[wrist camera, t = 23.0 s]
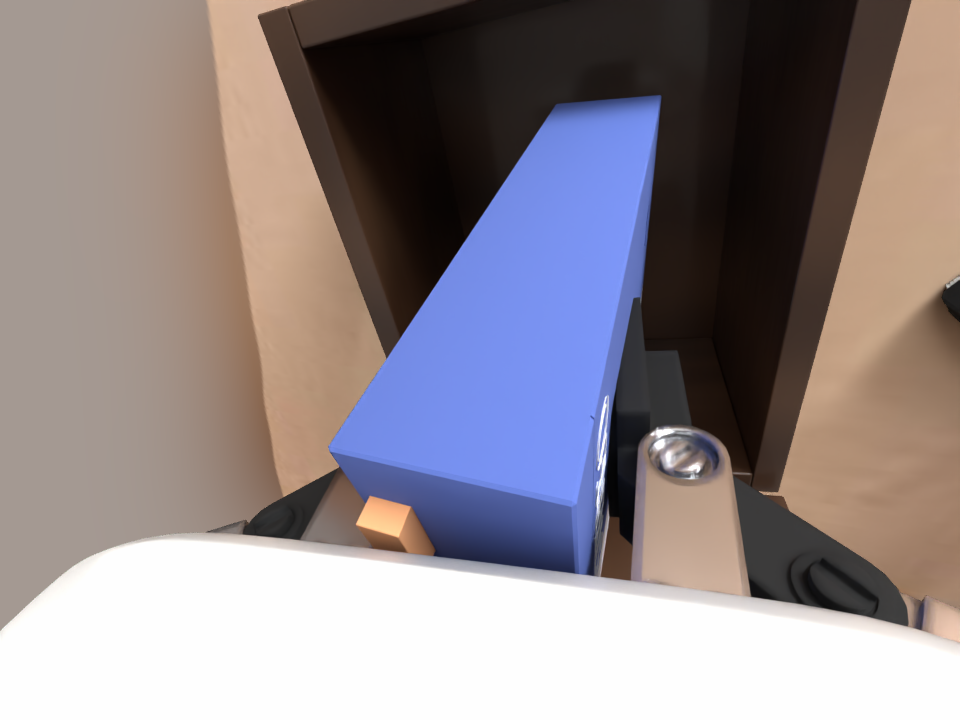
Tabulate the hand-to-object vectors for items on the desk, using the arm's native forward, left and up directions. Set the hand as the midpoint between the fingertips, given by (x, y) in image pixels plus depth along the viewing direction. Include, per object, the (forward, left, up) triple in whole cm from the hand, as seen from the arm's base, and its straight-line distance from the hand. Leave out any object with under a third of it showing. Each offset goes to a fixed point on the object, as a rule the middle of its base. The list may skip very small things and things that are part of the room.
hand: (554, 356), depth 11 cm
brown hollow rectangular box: (0, 0, -13) cm, 13 cm away
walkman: (-2, 0, -6) cm, 6 cm away
